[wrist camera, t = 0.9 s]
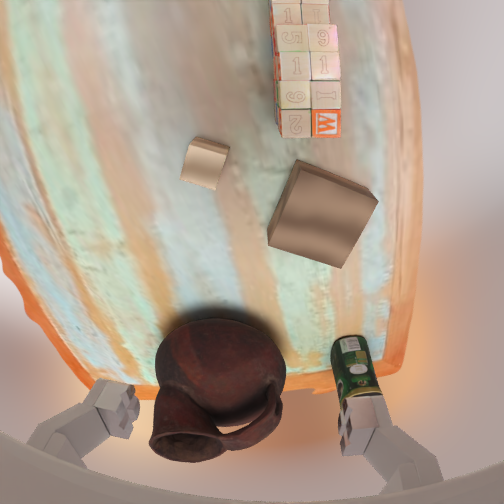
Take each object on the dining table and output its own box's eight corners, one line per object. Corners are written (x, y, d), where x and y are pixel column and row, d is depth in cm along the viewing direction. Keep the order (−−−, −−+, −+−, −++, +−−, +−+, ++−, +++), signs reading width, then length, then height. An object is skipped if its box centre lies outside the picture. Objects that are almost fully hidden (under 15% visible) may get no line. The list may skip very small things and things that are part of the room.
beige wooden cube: (196, 136, 42) (189, 144, 38) (229, 146, 43) (226, 155, 39) (186, 168, 45) (179, 179, 41) (219, 178, 46) (215, 190, 42)
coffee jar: (361, 360, 68) (378, 429, 52) (327, 363, 68) (340, 435, 52) (369, 332, 62) (392, 405, 47) (333, 335, 63) (349, 412, 47)
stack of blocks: (265, -21, 30) (268, -52, 20) (312, -21, 30) (331, -50, 19) (275, 121, 41) (281, 139, 31) (319, 121, 41) (341, 139, 31)
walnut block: (296, 159, 44) (301, 169, 40) (367, 188, 46) (378, 201, 42) (267, 229, 50) (268, 245, 46) (334, 251, 52) (341, 268, 48)
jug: (285, 376, 70) (290, 474, 49) (180, 378, 72) (163, 471, 50) (281, 294, 57) (292, 419, 36) (148, 301, 59) (109, 413, 37)
